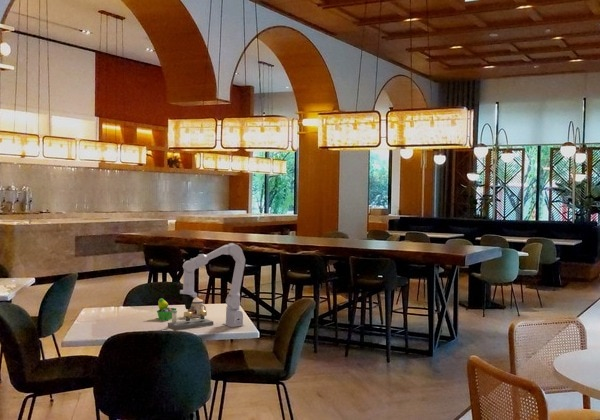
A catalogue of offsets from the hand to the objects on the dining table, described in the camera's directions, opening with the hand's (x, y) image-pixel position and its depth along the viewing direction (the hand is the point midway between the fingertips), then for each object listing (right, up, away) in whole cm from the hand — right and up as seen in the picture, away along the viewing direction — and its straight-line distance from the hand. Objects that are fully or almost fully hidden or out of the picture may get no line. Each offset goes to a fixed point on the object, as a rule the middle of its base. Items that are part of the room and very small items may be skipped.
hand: (188, 309), depth 353 cm
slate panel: (+1, -9, +3) cm, 10 cm away
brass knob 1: (0, -6, 0) cm, 6 cm away
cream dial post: (-7, -7, -2) cm, 10 cm away
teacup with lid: (0, -9, +28) cm, 30 cm away
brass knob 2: (+7, -6, +6) cm, 11 cm away
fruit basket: (-16, -9, +20) cm, 27 cm away
